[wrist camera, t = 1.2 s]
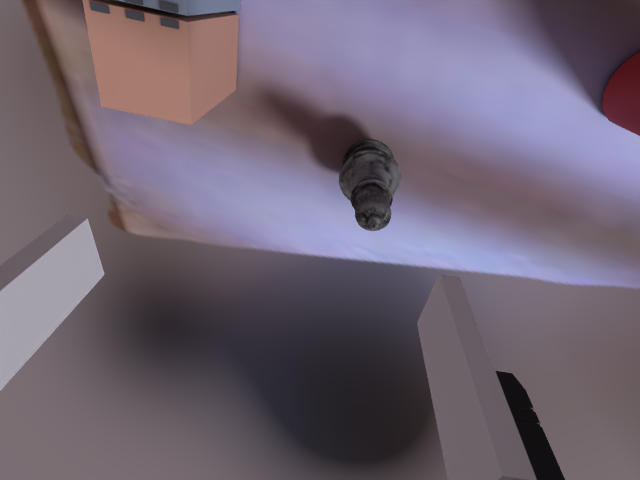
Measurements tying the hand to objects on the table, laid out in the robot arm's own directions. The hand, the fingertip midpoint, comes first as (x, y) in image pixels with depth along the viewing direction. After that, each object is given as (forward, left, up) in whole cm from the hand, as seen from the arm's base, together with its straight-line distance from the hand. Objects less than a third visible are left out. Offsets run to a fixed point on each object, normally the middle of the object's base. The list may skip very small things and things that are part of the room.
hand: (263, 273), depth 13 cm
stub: (-3, -11, -24) cm, 26 cm away
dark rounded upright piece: (+5, +6, -24) cm, 26 cm away
